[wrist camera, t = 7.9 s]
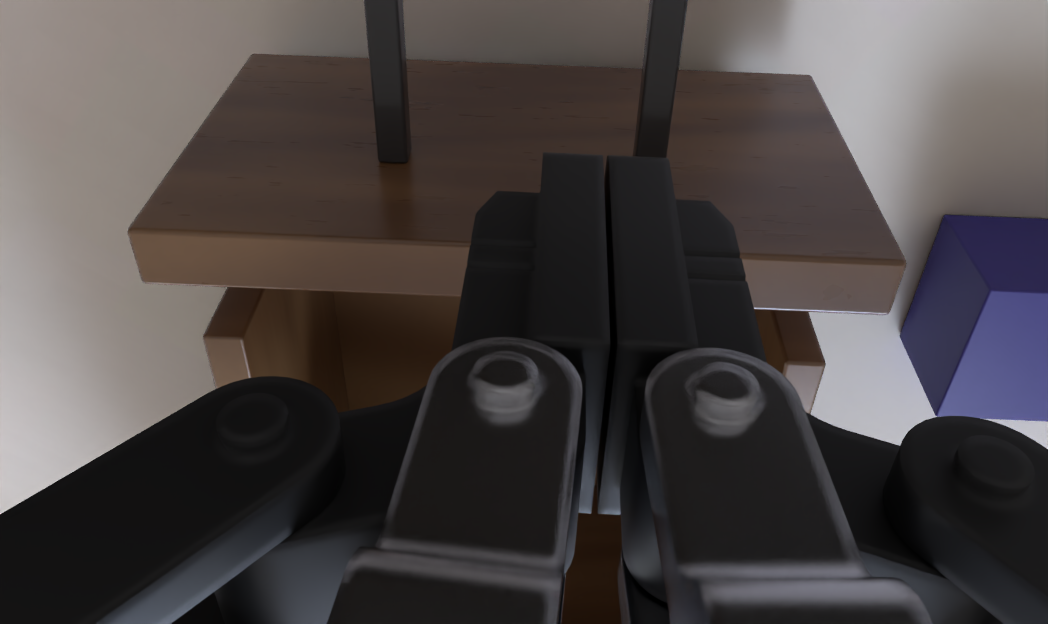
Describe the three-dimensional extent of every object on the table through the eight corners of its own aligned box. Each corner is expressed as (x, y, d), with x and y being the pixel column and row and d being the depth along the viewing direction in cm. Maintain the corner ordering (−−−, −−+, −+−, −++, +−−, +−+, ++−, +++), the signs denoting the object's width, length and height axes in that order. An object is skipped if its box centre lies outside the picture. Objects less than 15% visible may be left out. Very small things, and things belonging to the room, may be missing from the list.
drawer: (203, -222, 18) (14, -135, 12) (876, -201, 18) (1037, -99, 12) (321, 462, 31) (259, 677, 24) (717, 480, 30) (754, 701, 24)
